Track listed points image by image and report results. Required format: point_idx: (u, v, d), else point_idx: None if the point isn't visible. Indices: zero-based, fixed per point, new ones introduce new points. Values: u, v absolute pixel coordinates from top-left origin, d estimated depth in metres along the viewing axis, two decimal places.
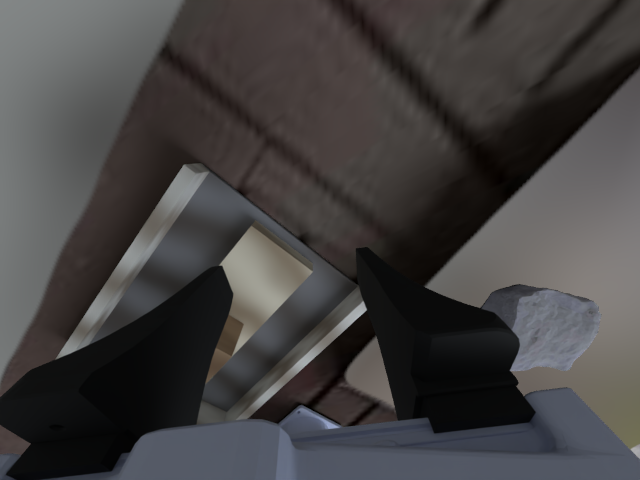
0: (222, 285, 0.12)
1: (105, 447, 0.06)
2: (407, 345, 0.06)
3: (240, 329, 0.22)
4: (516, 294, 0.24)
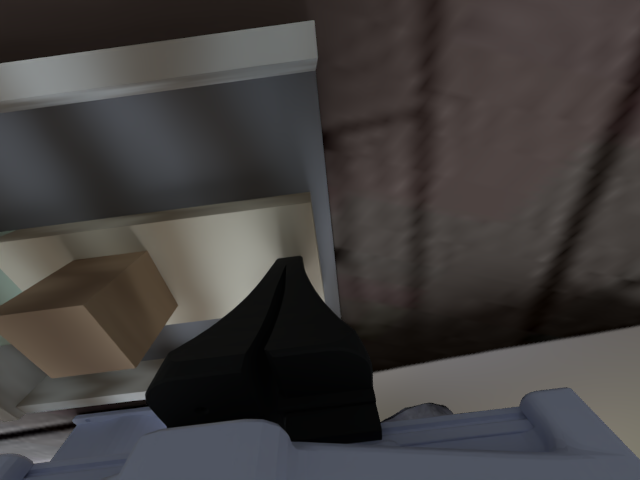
0: None
1: None
2: None
3: (169, 314, 0.13)
4: None
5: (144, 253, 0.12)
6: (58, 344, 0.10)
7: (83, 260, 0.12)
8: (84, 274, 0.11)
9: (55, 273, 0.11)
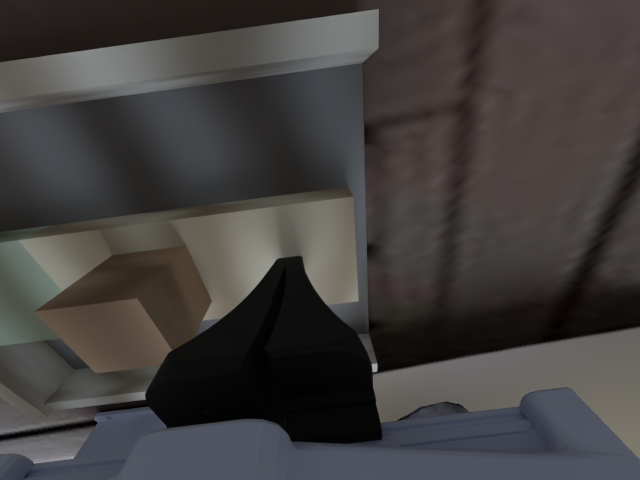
0: None
1: None
2: None
3: (205, 310, 0.13)
4: None
5: (183, 248, 0.12)
6: (107, 338, 0.10)
7: (122, 255, 0.12)
8: (128, 269, 0.11)
9: (97, 268, 0.11)
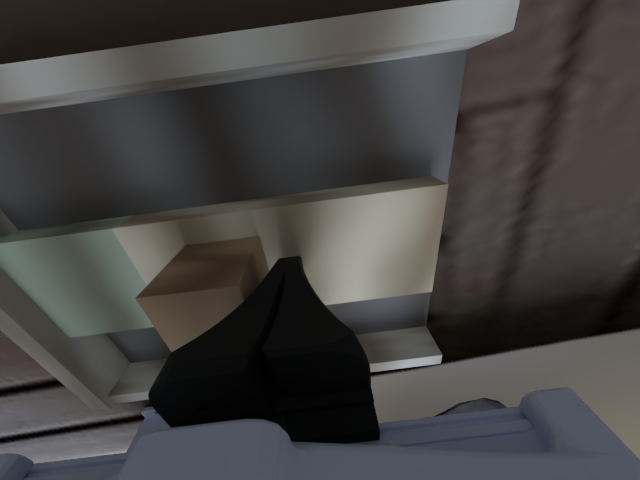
0: None
1: None
2: None
3: None
4: None
5: (258, 238, 0.12)
6: (198, 327, 0.10)
7: (196, 245, 0.12)
8: (211, 258, 0.11)
9: (177, 257, 0.11)
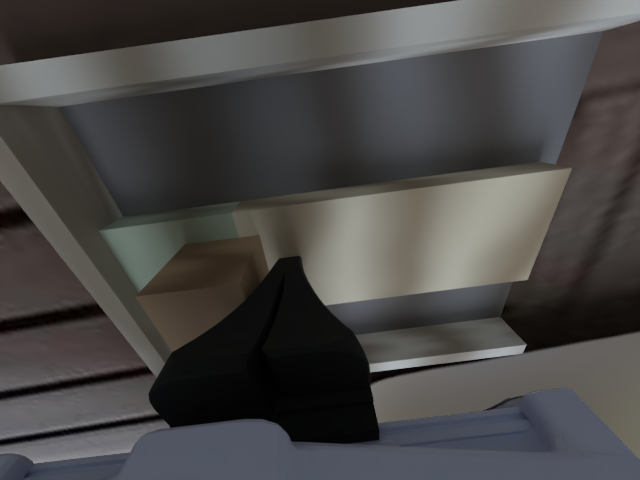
0: None
1: None
2: None
3: None
4: None
5: (258, 237, 0.12)
6: (199, 325, 0.10)
7: (196, 244, 0.12)
8: (211, 256, 0.11)
9: (177, 256, 0.11)
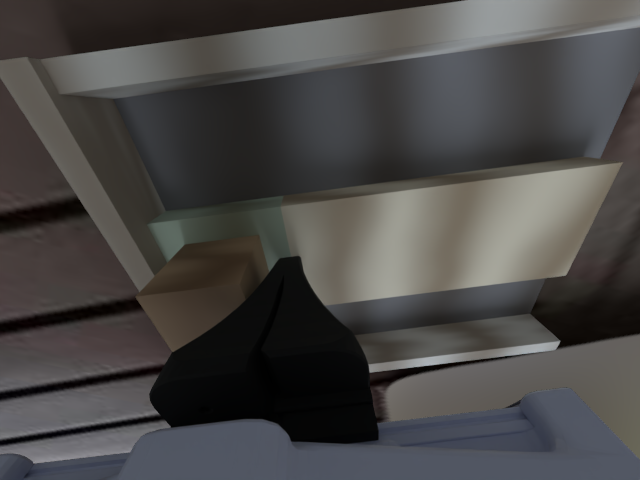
0: None
1: None
2: None
3: None
4: None
5: (258, 237, 0.12)
6: (199, 325, 0.10)
7: (195, 244, 0.12)
8: (211, 256, 0.11)
9: (176, 256, 0.11)
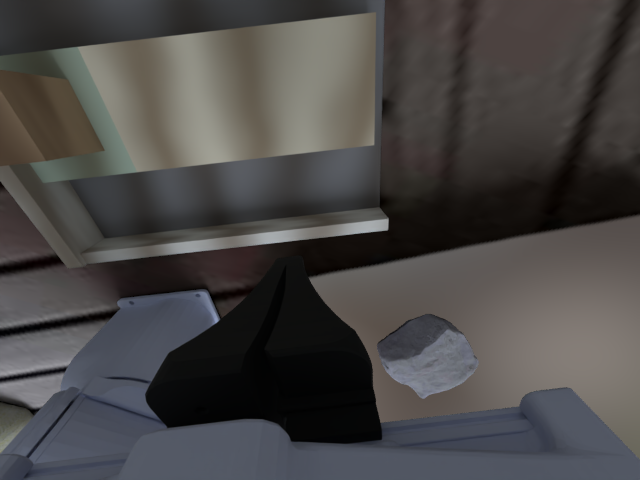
0: None
1: None
2: None
3: (93, 150, 0.15)
4: (446, 325, 0.26)
5: (63, 79, 0.13)
6: None
7: None
8: None
9: None
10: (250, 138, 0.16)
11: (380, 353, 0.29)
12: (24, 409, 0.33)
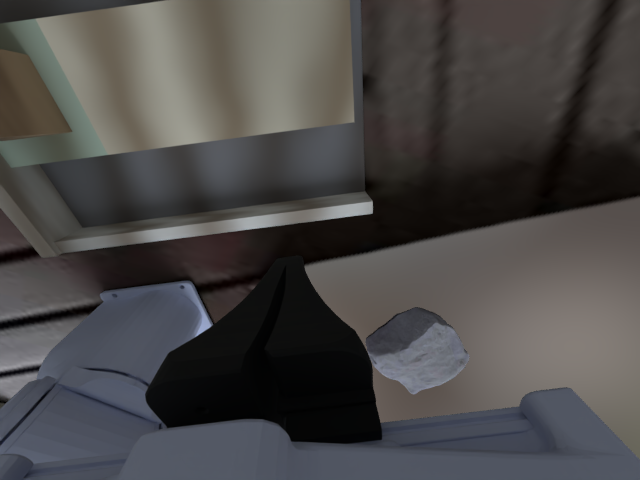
0: None
1: None
2: None
3: (58, 130, 0.14)
4: (434, 318, 0.26)
5: (23, 54, 0.13)
6: None
7: None
8: None
9: None
10: (223, 116, 0.15)
11: (368, 348, 0.28)
12: None
